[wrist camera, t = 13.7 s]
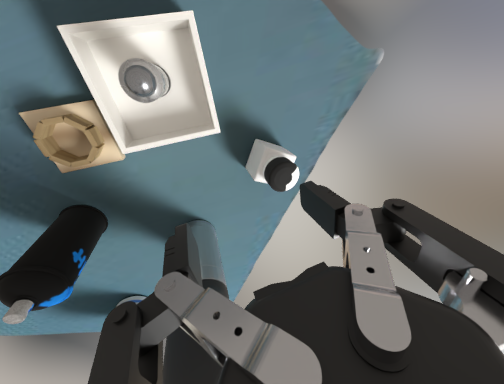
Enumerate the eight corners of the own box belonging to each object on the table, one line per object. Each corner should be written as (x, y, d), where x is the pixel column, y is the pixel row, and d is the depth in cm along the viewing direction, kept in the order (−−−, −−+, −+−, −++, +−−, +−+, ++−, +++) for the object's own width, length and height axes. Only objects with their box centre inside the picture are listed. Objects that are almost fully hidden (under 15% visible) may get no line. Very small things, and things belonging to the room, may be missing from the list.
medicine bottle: (244, 168, 45) (261, 192, 35) (255, 137, 43) (276, 155, 33) (271, 174, 48) (293, 198, 38) (282, 146, 45) (310, 165, 35)
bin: (216, 125, 39) (220, 132, 34) (131, 144, 36) (122, 154, 31) (191, 22, 31) (192, 10, 26) (79, 35, 28) (56, 25, 23)
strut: (168, 65, 32) (158, 57, 20) (172, 97, 34) (164, 106, 22) (137, 63, 30) (105, 52, 19) (143, 96, 33) (118, 104, 21)
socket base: (125, 156, 37) (118, 165, 33) (66, 170, 35) (52, 180, 32) (95, 99, 32) (83, 101, 28) (25, 111, 30) (2, 115, 26)
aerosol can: (51, 228, 39) (-48, 336, 23) (69, 197, 38) (-24, 290, 21) (97, 242, 44) (42, 342, 27) (115, 215, 42) (68, 304, 25)
